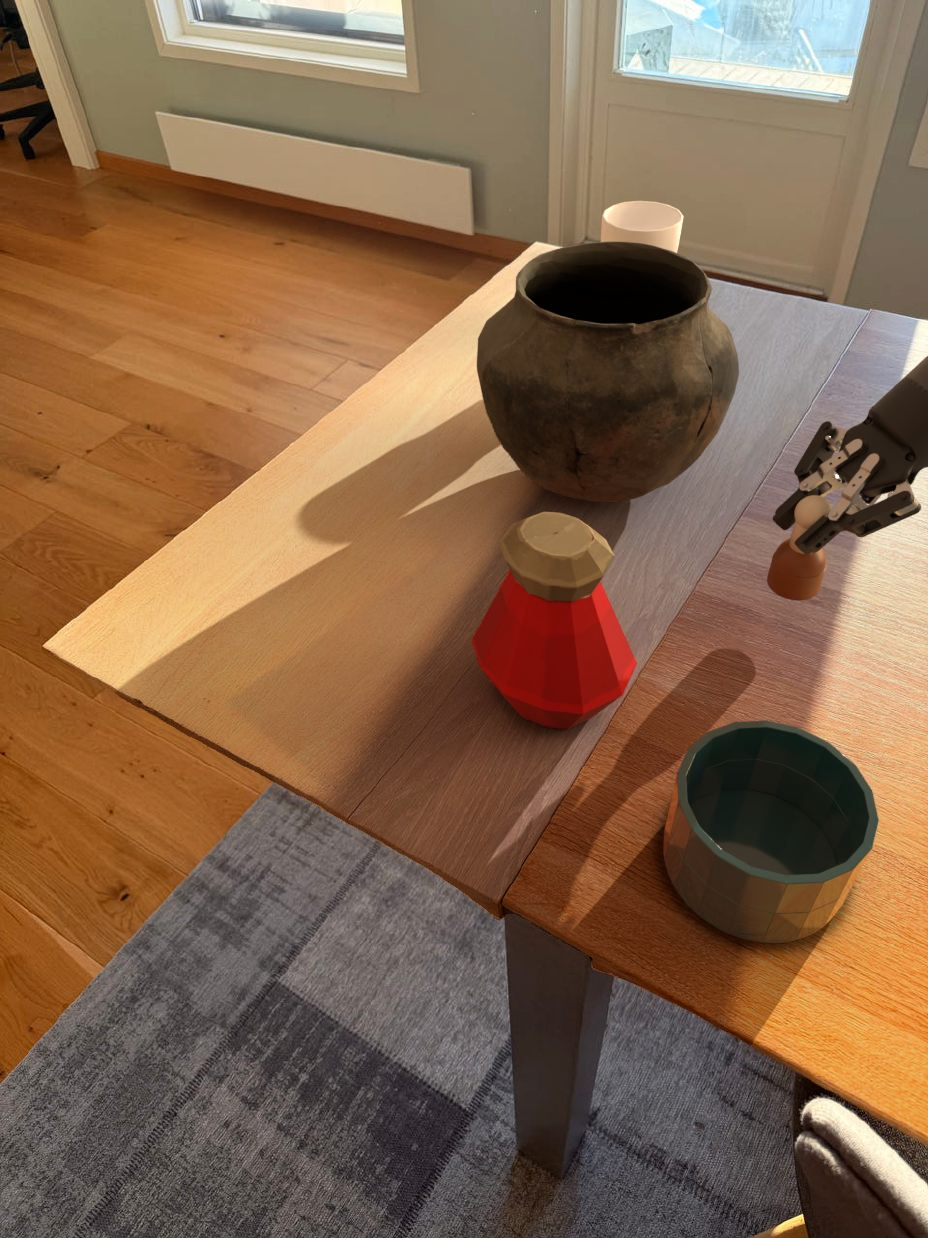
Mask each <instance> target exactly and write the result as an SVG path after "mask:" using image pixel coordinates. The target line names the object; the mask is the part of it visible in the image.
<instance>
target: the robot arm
mask: <svg viewBox="0 0 928 1238" xmlns="http://www.w3.org/2000/svg"><path fill="white" fill-rule="evenodd" d="M836 452H837V453H836ZM835 453H836V454H835ZM927 468H928V355H927V356H925V357H924V358H923V359H922V360H921V361H920V362H919V363H918V364H917V365H916V366H914V368H912V369H911V370H910V371H909V372H908V373H907V374H906V375H905V376H904V377H903V378H902V379H900V381H898V382H897V383H896V384H895V385H894V386H893V387H892V388H891V389H890V390H889V391H887V393H885V394H884V396H882V397H881V398H880V399H879V400H878V401H877V402H876V403H875V404H873V405H872V407H871V408H870V409H868V414H867V416H866V418H865V419H864V420H863V421H861V422H860V423H858V424H856V425H854V426H851V427H850V428H848V429H844V428H841V427H836V426H835V425H834V424H833V423H832V422H831V421H829V420H826V421H824V422H822V423H821V424H820V426H819V428H818V429H817V431H816V432H815V434H814V436H813V438H812V439H811V440H810V443H809V444H808V446H807V448H806V449H805V451H804V453H803V455H802V456H801V458H800V460H799V461H798V463H797V465H795V468H794V471H793V473H794V475H795V476H796V477H797V480H798V484H799V485H798V488H797V490H796V491H794V492H793V493H792V494H791V495H790V496H789V497H788V498H787V499H786V500H785V501H783V502H782V504H781V505H779V506H778V507H777V509H776V510H775V512H774V513H775V514H774V515H773V516H772V521H773V522H774V523H775V524H776V525H777V527H779V528H780V529H781V530H783V531H787V530H789V529H790V528H791V527H792V526H794V524H795V508H796V506H797V504H798V503H799V502H800V501H801V500H802V499H803V498H805V497H807V496H811V495H817V496H821V497H823V498H825V497H826V496H827V495H829V494H830V493H832V492H834V491H840V490H842V491H841V496H840V498H839V499H838V500H837V502H836V503H835V504H834V505H833V507H832V509H831V511H830V512H829V514H828V517H827V518H826V517H825V516H824V515H823V516H822V517H821V518H820V519H819V520H818V521H816V522H815V523H814V524H813V525H812V526H811V527H810V528H809V529H807V530H806V531H805V532H804V533H803V534H802V535H801V536H800V537H799V538H797V539H796V541H795V545H796V546H797V547H798V548H799V549H800V550H801V551H802V552H803V553H804V554H806V555H808V554H810V553H815V552H817V551H819V550H820V549H822V548H823V549H824V547H825V546H827V544H828V543H830V542H831V541H832V540H833V539H834V538H835V537H837V535H839V534H840V533H842V532H848V533H850V534H851V533H852V534H854V535H855V536H856V537H857V538H864V537H867V536H869V535H871V534H873V533H875V532H878V531H881V530H882V529H885V528H887V527H889V526H892V525H894V524H896V523H899V522H901V521H903V520H906V519H907V518H910V517H912V516H915V515H917V514H918V513H920V511H921V510H922V505H921V503H920V502H919V500H918V499H917V498H916V497H915V494H914V492H913V489H912V486H911V485H912V484H914V482H915V480H916V478H917V476H918V474H919V473H920V472H921V471H922V470H924V469H927ZM885 494H887V497H886V498H884V499H882V500H880V501H878V500H879V499H880V498H881V496H882V495H885ZM877 501H878V502H877Z"/></svg>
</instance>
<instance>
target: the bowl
mask: <svg viewBox="0 0 928 1238" xmlns="http://www.w3.org/2000/svg"><path fill="white" fill-rule="evenodd" d="M675 777H676V778H675V781H674V788H673V790H672V795H671V799H670V804H669V808H668V813H667V818H666V822H665V826H664V831H663V843H662V844H663V845H662V847H663V860H664V865H665V869H666V872H667V875H668V877H669V879H670V881H671V885H672V886H673V887H674V889H675V891H676V892H677V894H678V896H679V897H680V898H681V899H682V900H683V902H684V903H685V904H686V905H687V907H689V908H690V909H691V910H692V911H693V912H694V914H696V915H698V916H699V917H700V918H701V919H702V920H703V921H705V922H706V923H708V924H709V925H711V926H712V927H714V928H716V929H718V930H720V931H721V932H723V933H725V934H728V935H731V936H733V937H736V938H737V939H742V940H744V941H745V940H746V941H750V942H755V943H762V944H783V943H791V942H795V941H799V940H802V939H804V938H807V937H809V936H811V935H814V934H815V933H817V932H818V931H820V930H821V929H823V928H824V927H825V926H826V925H827V924H828V923H830V922H831V920H832V919H833V918H834V917H835V915H836V913H838V911H839V910H840V909H841V908H842V906H843V905H844V903H845V901H846V899H847V897H848V895H849V894H850V891H851V890H852V887H853V885H854V884H855V882H856V880H857V879H858V877H859V875H860V872H861V871H862V869H863V867H864V865H865V864H866V861H867V860H868V857H869V855H870V853H871V852H872V851H873V848H874V845H875V840H876V836H877V832H878V829H879V824H880V818H879V813H878V809H877V804H876V799H875V795H874V792H873V789H872V788H871V786H870V785H869V783H868V782H867V780H866V779H865V777H864V776H863V774H862V772H861V771H860V769H859V767H858V766H857V765H856V764H855V763H854V762H853V761H852V760H851V759H850V758H849V757H847V756H846V755H845V754H844V753H843V752H842V751H840V750H839V749H838V748H837V747H836V746H835V745H833V744H832V743H831V742H829V741H827V740H825V739H823V738H821V737H819V736H817V735H815V734H814V733H811V732H809V731H807V730H805V729H804V728H800V727H799V726H795V725H789V724H785V723H780V722H775V721H771V720H749V721H747V720H746V721H745V720H744V721H735V722H731V723H729V724H725V725H723V726H720V727H717V728H715V729H712V730H708V731H707V732H706V733H705V734H703V735H702V736H701V737H700V738H699V739H698V740H697V741H696V742H694V743H693V744H692V745H691V746H690V747H689V748H688V749H687V750H686V752H685V755H684V757H683V759H682V762H681V763H680V765H679V768H678V771H677V773H676V776H675Z"/></svg>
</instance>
